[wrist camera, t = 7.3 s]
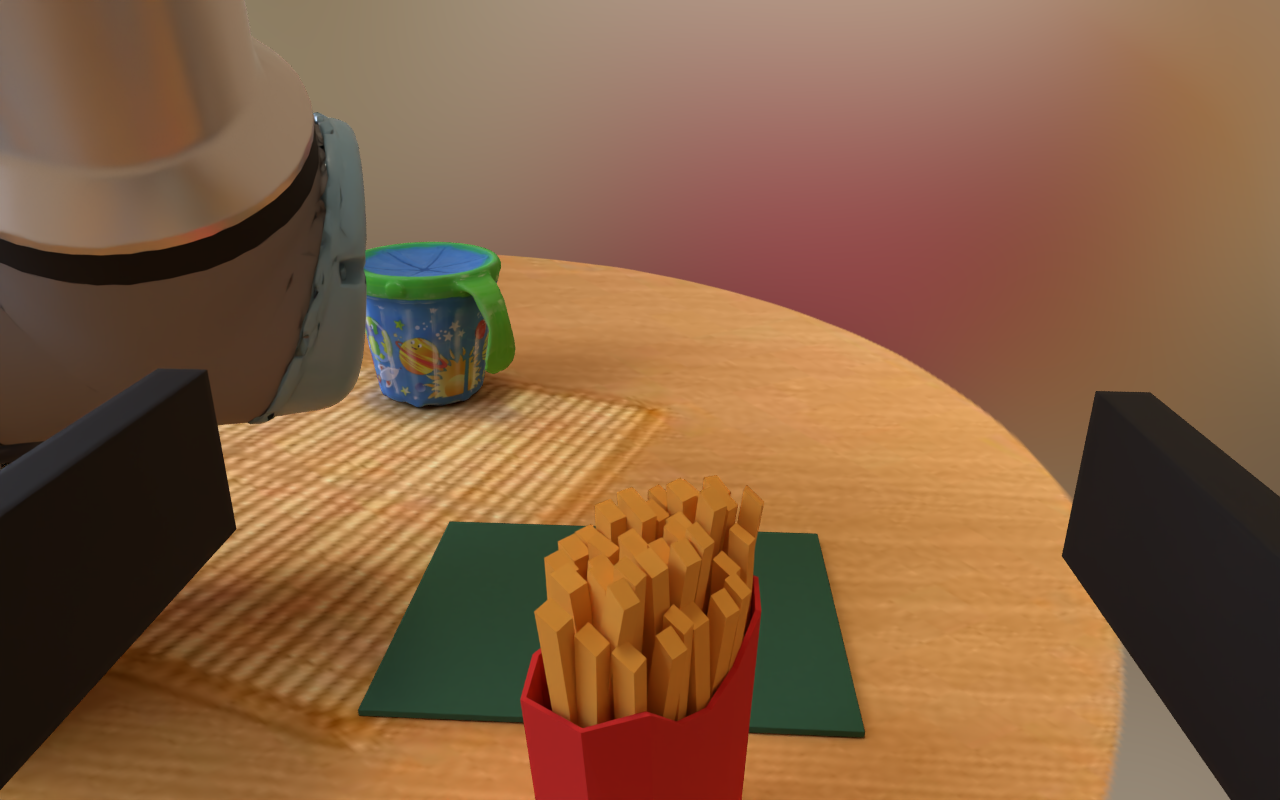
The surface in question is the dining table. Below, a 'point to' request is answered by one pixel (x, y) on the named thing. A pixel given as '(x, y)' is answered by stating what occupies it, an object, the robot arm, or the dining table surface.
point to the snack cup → (435, 320)
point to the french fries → (647, 650)
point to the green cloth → (508, 637)
